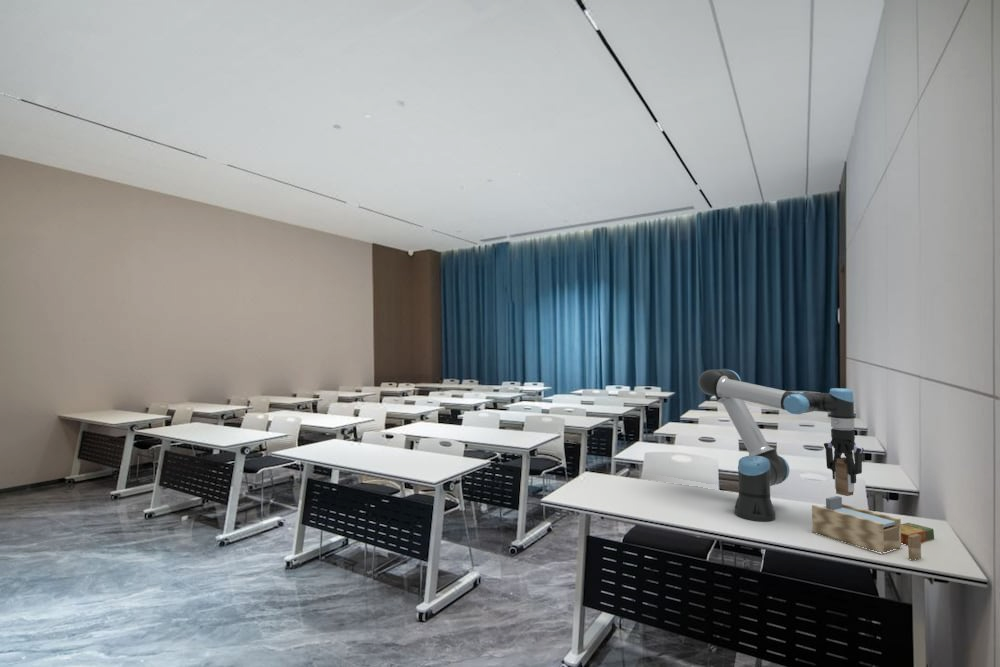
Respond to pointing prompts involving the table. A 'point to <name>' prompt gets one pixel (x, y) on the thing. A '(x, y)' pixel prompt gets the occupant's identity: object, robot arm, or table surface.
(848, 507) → the wooden box
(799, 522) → the table surface
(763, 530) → the table surface
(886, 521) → the lid
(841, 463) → the brown block
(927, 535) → the carton
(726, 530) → the table surface
